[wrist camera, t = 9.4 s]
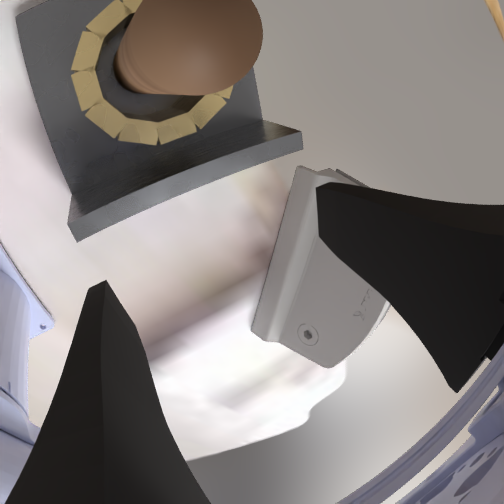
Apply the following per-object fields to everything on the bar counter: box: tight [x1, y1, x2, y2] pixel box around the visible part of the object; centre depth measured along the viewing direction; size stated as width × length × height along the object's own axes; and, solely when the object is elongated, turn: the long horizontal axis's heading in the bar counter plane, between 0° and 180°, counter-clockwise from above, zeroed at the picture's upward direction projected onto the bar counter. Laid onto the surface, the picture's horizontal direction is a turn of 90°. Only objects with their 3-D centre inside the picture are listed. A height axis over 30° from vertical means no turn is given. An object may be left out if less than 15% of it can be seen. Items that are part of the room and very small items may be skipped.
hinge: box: [251, 166, 391, 368], centre depth 24 cm, size 17×5×10 cm, turn 165°
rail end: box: [113, 0, 263, 96], centre depth 9 cm, size 4×4×9 cm
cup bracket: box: [16, 0, 303, 242], centre depth 12 cm, size 12×12×5 cm
